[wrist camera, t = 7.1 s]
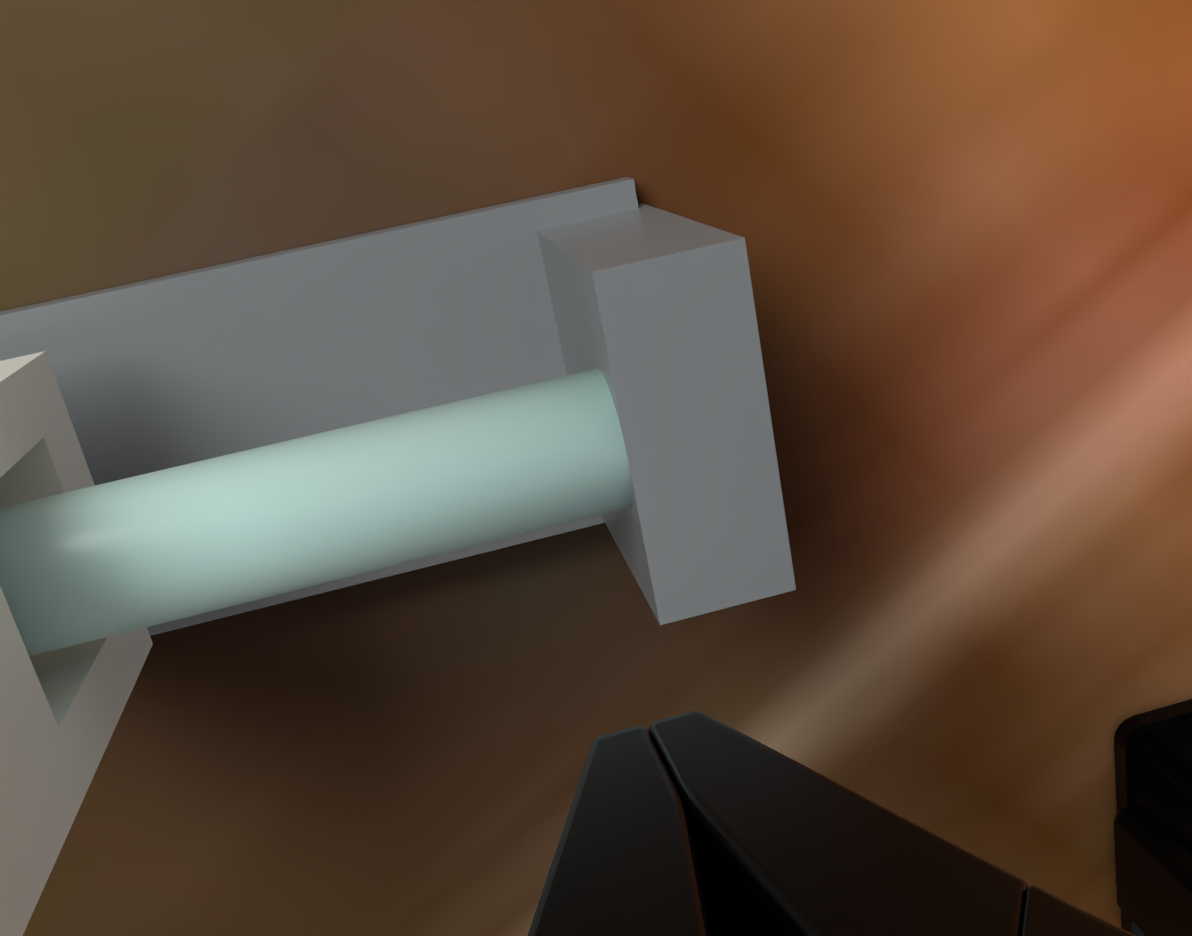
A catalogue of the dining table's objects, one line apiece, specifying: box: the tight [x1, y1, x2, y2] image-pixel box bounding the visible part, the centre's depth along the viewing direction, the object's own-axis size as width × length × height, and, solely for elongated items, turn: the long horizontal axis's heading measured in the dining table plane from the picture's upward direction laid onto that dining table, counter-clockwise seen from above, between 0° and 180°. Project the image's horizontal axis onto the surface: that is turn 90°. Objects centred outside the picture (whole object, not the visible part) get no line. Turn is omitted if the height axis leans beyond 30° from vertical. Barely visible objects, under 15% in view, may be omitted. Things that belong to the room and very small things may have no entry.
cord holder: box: [0, 177, 796, 656], centre depth 16 cm, size 19×6×7 cm, turn 101°
